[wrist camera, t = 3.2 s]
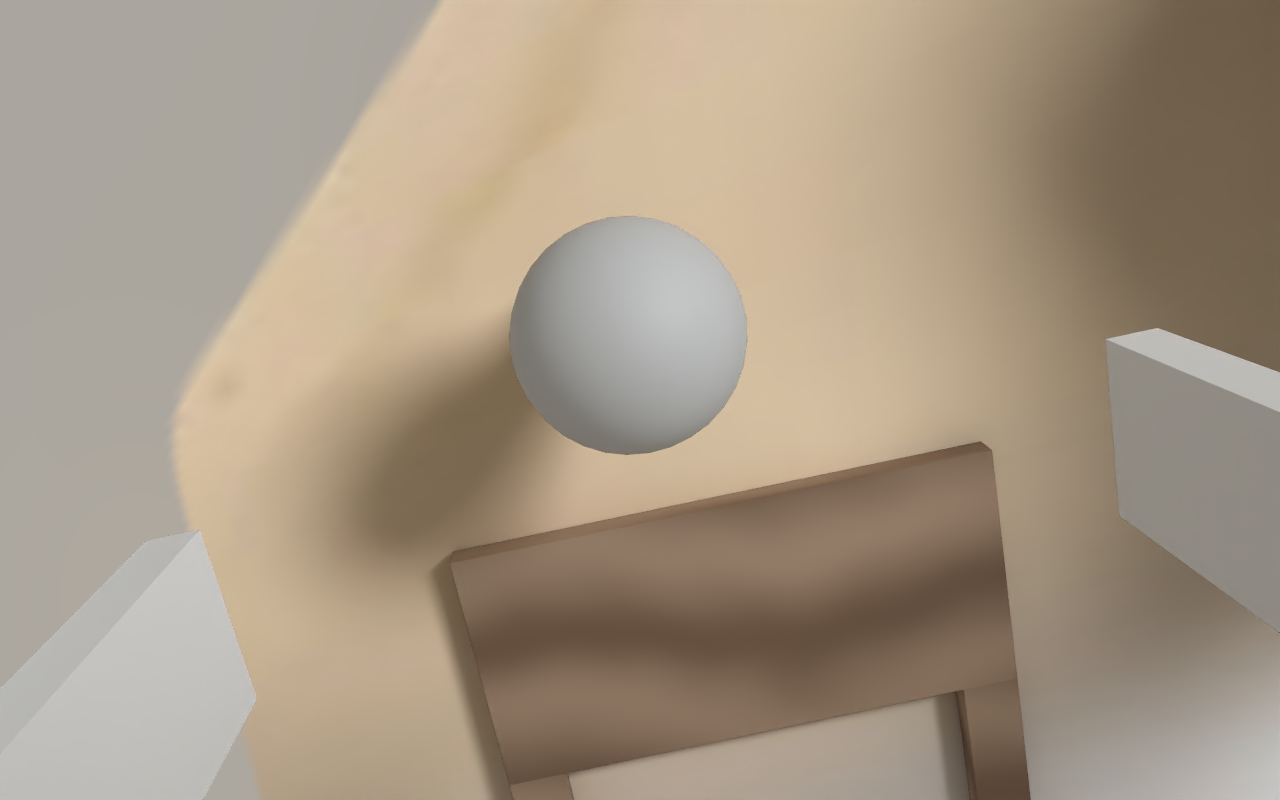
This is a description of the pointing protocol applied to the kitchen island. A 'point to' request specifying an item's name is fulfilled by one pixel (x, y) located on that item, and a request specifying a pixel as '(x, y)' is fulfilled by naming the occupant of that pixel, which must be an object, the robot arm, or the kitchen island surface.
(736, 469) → the kitchen island surface
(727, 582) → the brown wooden frame
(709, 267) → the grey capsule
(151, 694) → the robot arm
